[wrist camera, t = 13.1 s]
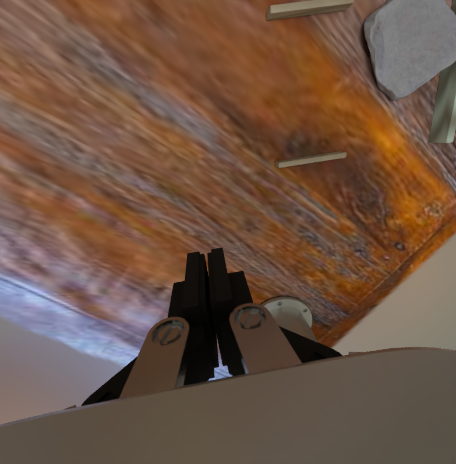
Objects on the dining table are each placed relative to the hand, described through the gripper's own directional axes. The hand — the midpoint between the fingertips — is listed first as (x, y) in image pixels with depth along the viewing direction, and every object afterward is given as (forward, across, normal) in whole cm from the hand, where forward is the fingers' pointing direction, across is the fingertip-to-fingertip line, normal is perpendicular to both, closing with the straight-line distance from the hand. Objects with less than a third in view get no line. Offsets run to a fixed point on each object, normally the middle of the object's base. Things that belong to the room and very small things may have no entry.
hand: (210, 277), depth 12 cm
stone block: (+28, -29, -13) cm, 42 cm away
